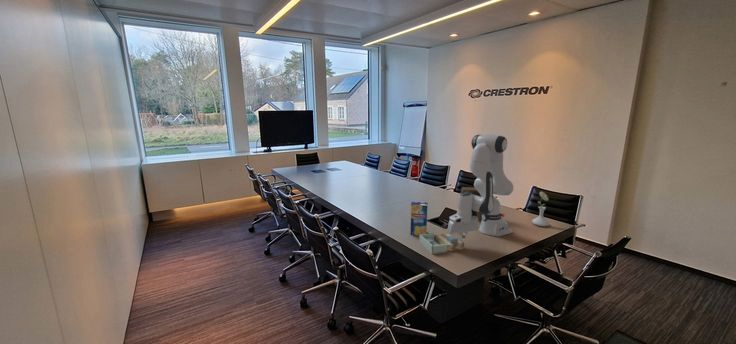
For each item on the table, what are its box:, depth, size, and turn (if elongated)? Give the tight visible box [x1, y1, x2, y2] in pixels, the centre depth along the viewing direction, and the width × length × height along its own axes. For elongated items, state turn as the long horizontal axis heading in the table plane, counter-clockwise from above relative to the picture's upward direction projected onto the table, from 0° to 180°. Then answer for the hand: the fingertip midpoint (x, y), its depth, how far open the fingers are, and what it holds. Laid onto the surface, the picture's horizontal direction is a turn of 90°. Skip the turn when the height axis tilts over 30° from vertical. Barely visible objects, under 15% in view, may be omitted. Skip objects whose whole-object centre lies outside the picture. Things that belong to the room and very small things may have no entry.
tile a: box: [425, 238, 434, 245], centre depth 195 cm, size 5×5×2 cm
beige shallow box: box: [434, 232, 465, 252], centre depth 195 cm, size 12×16×4 cm
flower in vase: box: [531, 191, 550, 227], centre depth 226 cm, size 13×11×25 cm
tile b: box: [447, 235, 459, 243], centre depth 190 cm, size 5×5×2 cm
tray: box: [418, 232, 448, 255], centre depth 192 cm, size 10×18×5 cm, turn 15°
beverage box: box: [410, 201, 429, 236], centre depth 211 cm, size 7×11×22 cm, turn 78°
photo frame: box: [460, 186, 482, 222], centre depth 240 cm, size 15×22×25 cm
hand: (462, 238), depth 192 cm, fingers closed
